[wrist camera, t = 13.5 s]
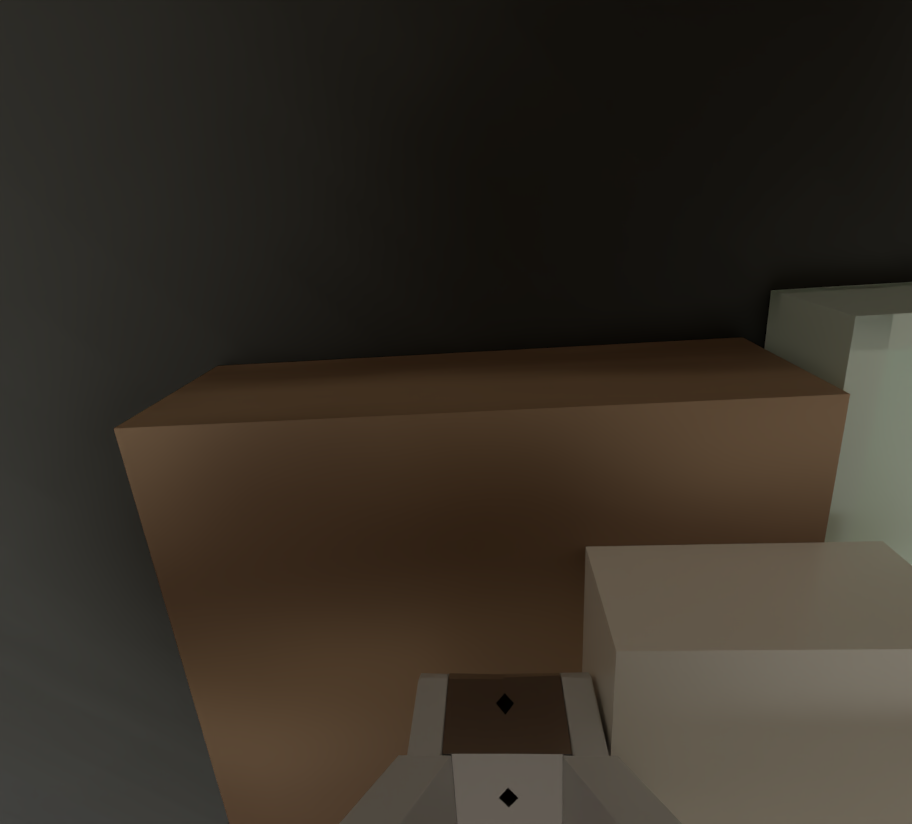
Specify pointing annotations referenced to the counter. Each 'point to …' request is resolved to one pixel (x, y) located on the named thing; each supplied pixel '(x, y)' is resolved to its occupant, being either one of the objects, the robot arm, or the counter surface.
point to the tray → (859, 397)
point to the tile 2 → (756, 677)
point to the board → (439, 527)
